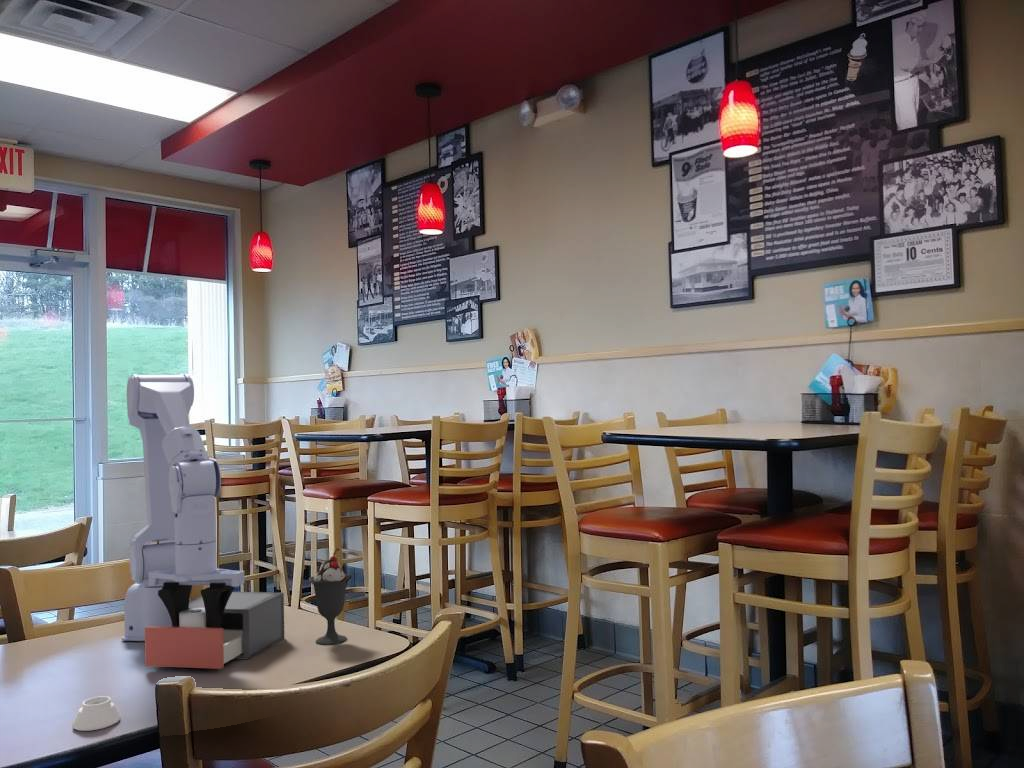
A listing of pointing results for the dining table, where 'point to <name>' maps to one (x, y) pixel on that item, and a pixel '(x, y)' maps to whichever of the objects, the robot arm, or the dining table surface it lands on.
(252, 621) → the housing
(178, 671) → the dining table surface
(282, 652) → the dining table surface
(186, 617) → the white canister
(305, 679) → the dining table surface
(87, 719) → the white jar
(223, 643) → the red drawer
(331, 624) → the sundae
